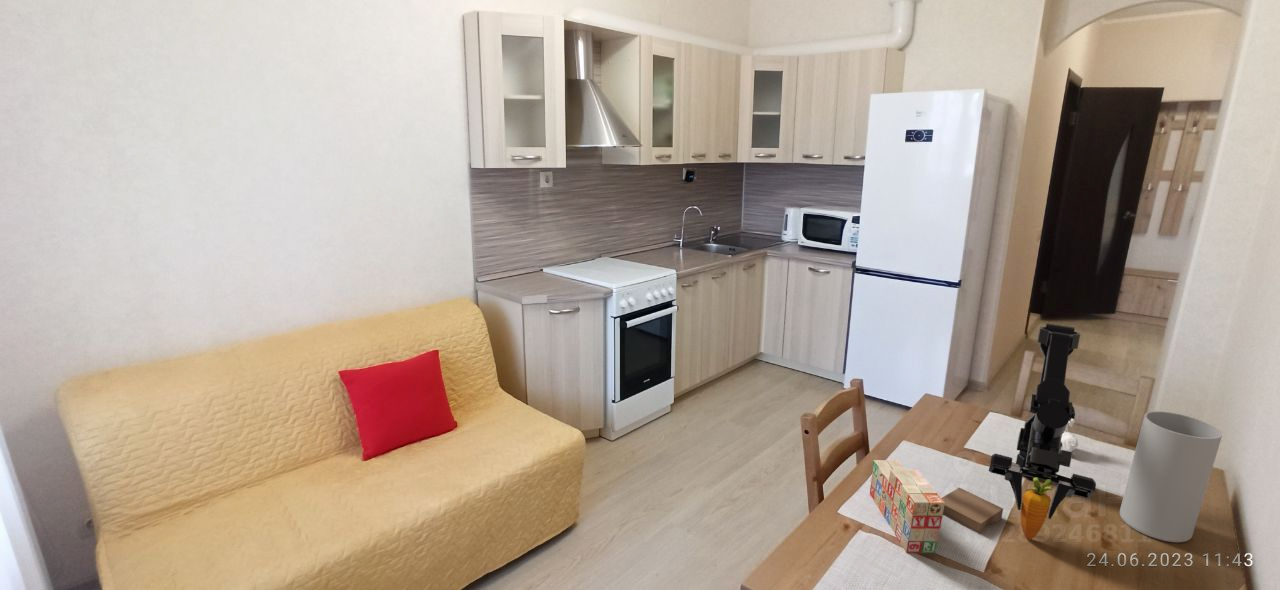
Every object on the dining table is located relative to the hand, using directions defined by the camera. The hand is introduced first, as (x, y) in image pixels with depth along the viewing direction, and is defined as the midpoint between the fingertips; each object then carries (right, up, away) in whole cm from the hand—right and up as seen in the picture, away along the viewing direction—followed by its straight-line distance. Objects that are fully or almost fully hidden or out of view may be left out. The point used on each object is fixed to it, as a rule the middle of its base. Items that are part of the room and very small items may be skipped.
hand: (1034, 514), depth 125 cm
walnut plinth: (-8, -4, +11) cm, 14 cm away
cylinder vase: (+32, -6, +8) cm, 34 cm away
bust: (+34, +3, +42) cm, 54 cm away
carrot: (+1, -7, +3) cm, 7 cm away
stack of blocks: (-25, -5, +8) cm, 27 cm away
